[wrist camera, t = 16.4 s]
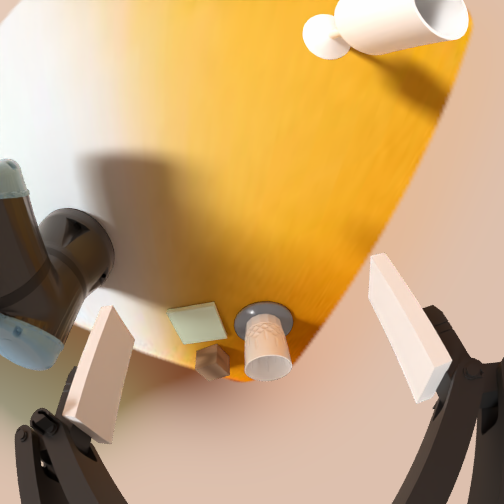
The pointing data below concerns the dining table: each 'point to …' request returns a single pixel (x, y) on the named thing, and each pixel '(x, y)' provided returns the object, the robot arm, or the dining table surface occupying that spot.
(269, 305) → the slate coaster
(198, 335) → the green mat
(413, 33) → the champagne flute
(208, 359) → the walnut block
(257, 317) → the white cup
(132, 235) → the dining table surface
